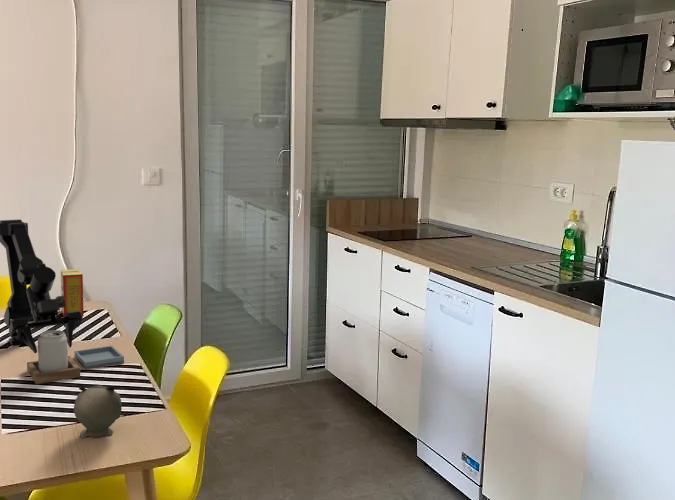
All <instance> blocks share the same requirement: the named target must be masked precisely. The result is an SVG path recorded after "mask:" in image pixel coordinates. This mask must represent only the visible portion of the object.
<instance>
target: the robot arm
mask: <svg viewBox="0 0 675 500" xmlns="http://www.w3.org/2000/svg"><path fill="white" fill-rule="evenodd" d="M28 223H29V222H24V221H22V219H20V218H19V219H3V220H2V219H1V220H0V243H1V245H2V246H3V247H4V249H5V252H6V253H5V255H6V261H7V266H8V267H7V268H8V275H9V283H10V290H11V291H10V292H11V294H10V297H9V298H8V300H7V302H6V305H7V306H6V309H5V312H4V315H3V320H4V324H5V325H6V326H7V327H8V333H9V337H10V338H8V342H9V343H10V344H11V346H18V345H25V344H26V346H28V348H29V349H30V350H31V351H32V352H33V353H34V354H38V347H37V345H36V342H35V340H34V336H33V334H32V329H37V328H44V327H52V326H60V325H63V327H64V331H63V332H64V333H65V334H64V335H65V336H66V337H67V346H68V347H69V348H70V349H71V348H72V345H73V336H74V335H73V334H74V332H75V331H76V329H77V328H79V327H80V325H81V323H82V321H83V318H84V316H82V313H81V312H80V311H71V312H66V315H65V317H64V316H62V317H57V316H58V315H59V311H60V309H62V308H64V307H65V306H66V302H65V299H64V296H61V295H58V296H56V297H55V298H51V294H50V291H51V290H52V288H53V285H54V282H55V280H56V276H57V275H56V272H55V271H54V269H52V268H51V267H50V266H49V267H48V266H47V265H46V263H44V262H43V260H42V259H40V258H39V257H38V256H37V255H36V252H35V249H34V246H33V244H32V241H31V238H30V235H29V224H28Z"/></svg>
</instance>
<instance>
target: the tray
mask: <svg viewBox="0 0 675 500" xmlns="http://www.w3.org/2000/svg"><path fill="white" fill-rule="evenodd" d="M74 359H75V360H76V361H77V362H78V363H79V364H80V366H82V367H83V369H84V370H89V369H95V368H100V367H107V366H113V365H119V364H124V363H125V356H124V355H123V354H122V353H121V352H120V351H119V350H118V349H116V348H115V347H114V345H107V346H106V345H105V346H99V347H93V348H88V349H87V348H86V349H79V350H74Z"/></svg>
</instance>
